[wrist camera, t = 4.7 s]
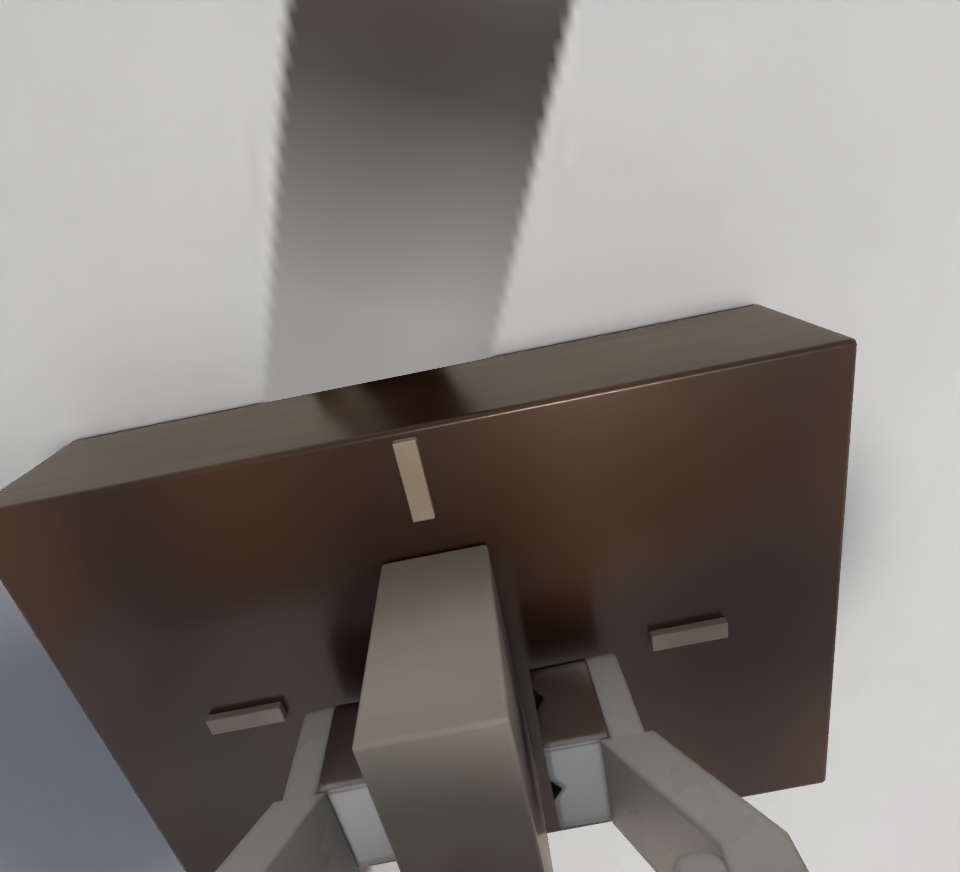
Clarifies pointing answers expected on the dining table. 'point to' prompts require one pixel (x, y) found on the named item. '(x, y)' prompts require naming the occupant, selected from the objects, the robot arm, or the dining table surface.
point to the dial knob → (448, 723)
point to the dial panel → (452, 526)
